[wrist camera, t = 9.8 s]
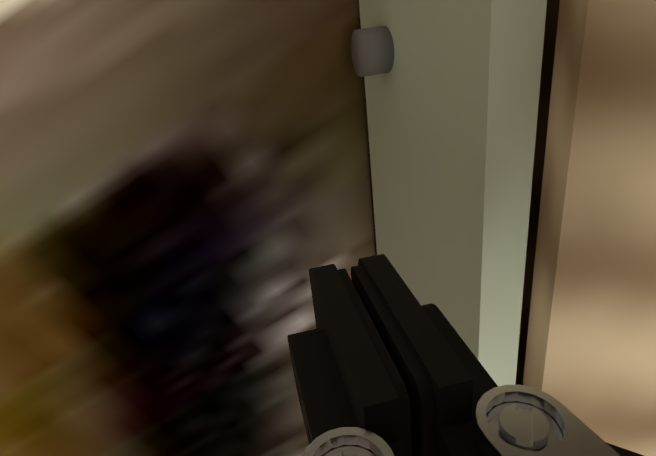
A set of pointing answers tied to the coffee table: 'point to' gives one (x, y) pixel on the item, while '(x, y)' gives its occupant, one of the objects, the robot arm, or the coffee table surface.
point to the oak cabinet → (595, 221)
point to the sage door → (455, 156)
